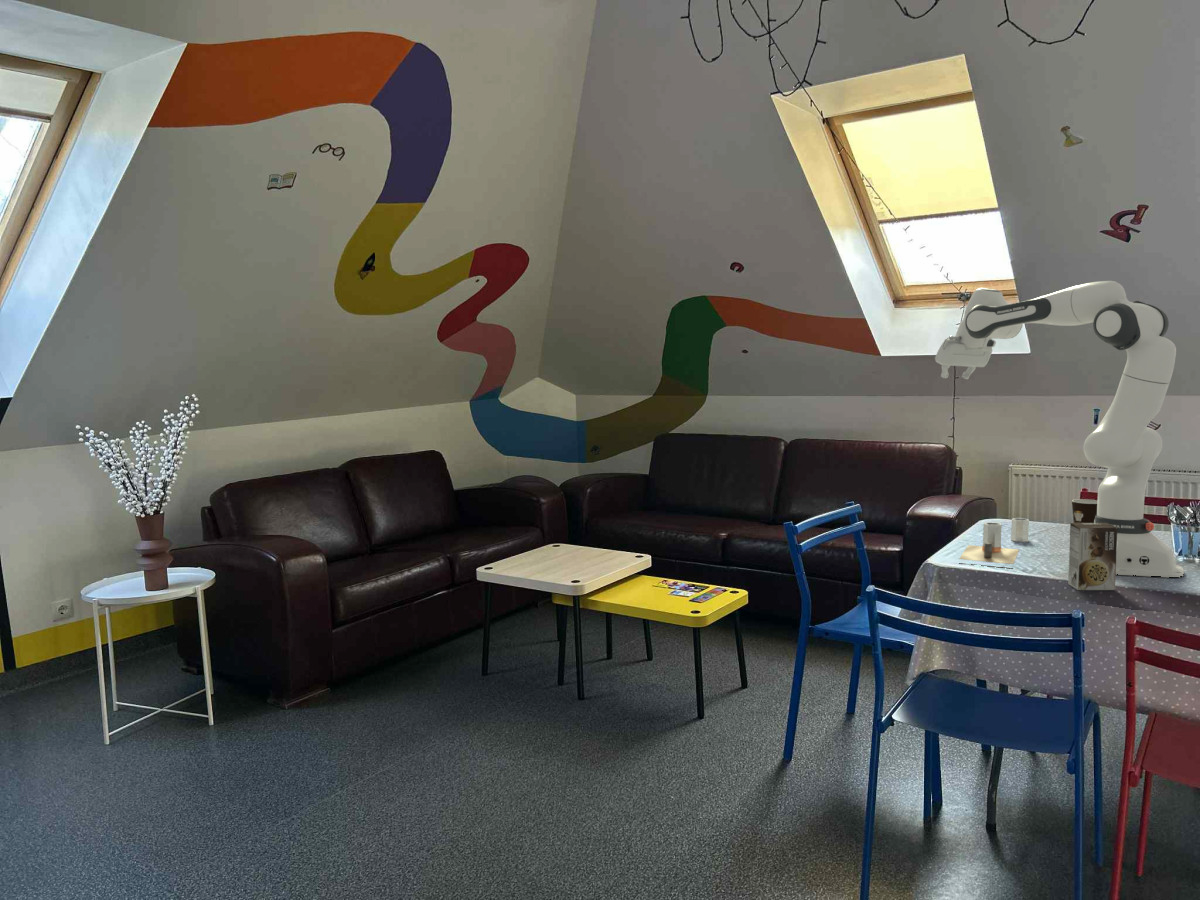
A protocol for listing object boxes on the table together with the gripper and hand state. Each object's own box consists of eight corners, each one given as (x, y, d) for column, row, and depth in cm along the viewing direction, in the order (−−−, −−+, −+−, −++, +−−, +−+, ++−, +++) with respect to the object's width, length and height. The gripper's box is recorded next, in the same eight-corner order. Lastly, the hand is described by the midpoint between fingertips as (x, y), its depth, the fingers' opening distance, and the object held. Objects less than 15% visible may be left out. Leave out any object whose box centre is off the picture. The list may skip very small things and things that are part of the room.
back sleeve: (1001, 549, 267) (1002, 522, 266) (999, 553, 262) (1000, 525, 262) (983, 548, 269) (984, 521, 268) (981, 551, 265) (982, 524, 264)
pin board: (1019, 554, 267) (1019, 536, 266) (1013, 569, 249) (1013, 549, 249) (968, 550, 274) (968, 532, 273) (958, 564, 256) (959, 544, 256)
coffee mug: (1065, 529, 303) (1066, 499, 302) (1091, 528, 303) (1092, 499, 301) (1083, 536, 291) (1085, 505, 290) (1110, 535, 291) (1112, 505, 290)
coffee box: (1104, 584, 233) (1107, 522, 231) (1115, 591, 226) (1119, 527, 224) (1066, 583, 233) (1069, 522, 232) (1077, 590, 227) (1080, 526, 225)
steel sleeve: (1028, 544, 280) (1029, 518, 280) (1027, 547, 276) (1028, 521, 275) (1011, 542, 283) (1012, 517, 282) (1010, 545, 278) (1010, 520, 278)
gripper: (954, 339, 279) (938, 380, 284) (999, 342, 288) (983, 382, 294) (939, 332, 284) (924, 373, 289) (985, 335, 293) (969, 375, 299)
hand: (954, 377), depth 292 cm, fingers open, 8 cm apart
